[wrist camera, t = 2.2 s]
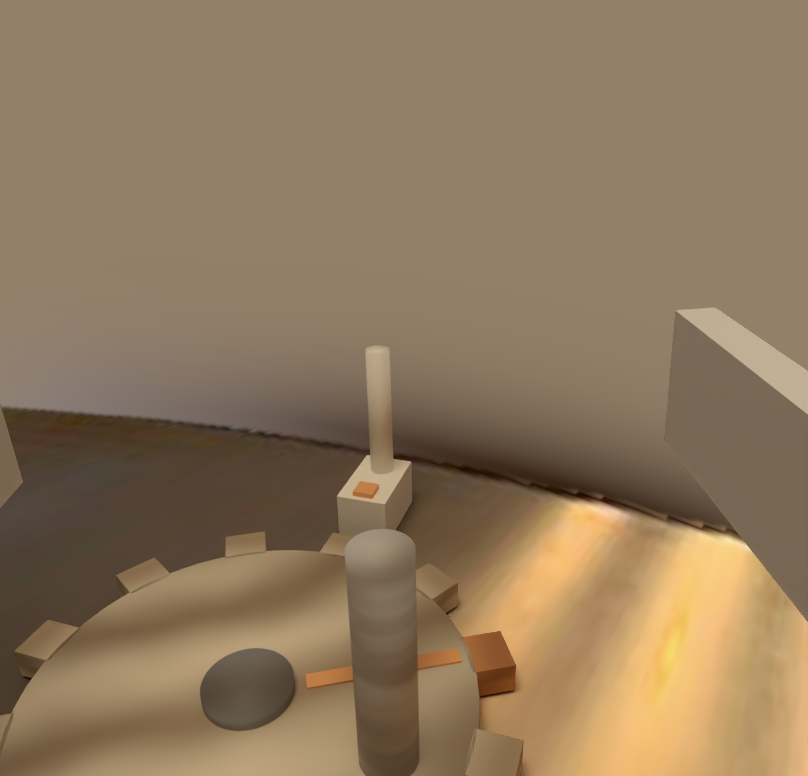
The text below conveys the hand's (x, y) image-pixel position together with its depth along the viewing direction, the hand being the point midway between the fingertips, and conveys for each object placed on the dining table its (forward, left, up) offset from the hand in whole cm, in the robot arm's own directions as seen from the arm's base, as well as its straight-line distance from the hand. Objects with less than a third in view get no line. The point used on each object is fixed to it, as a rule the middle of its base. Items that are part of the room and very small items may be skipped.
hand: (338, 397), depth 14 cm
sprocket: (-12, 0, -21) cm, 24 cm away
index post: (-24, +11, -21) cm, 33 cm away
